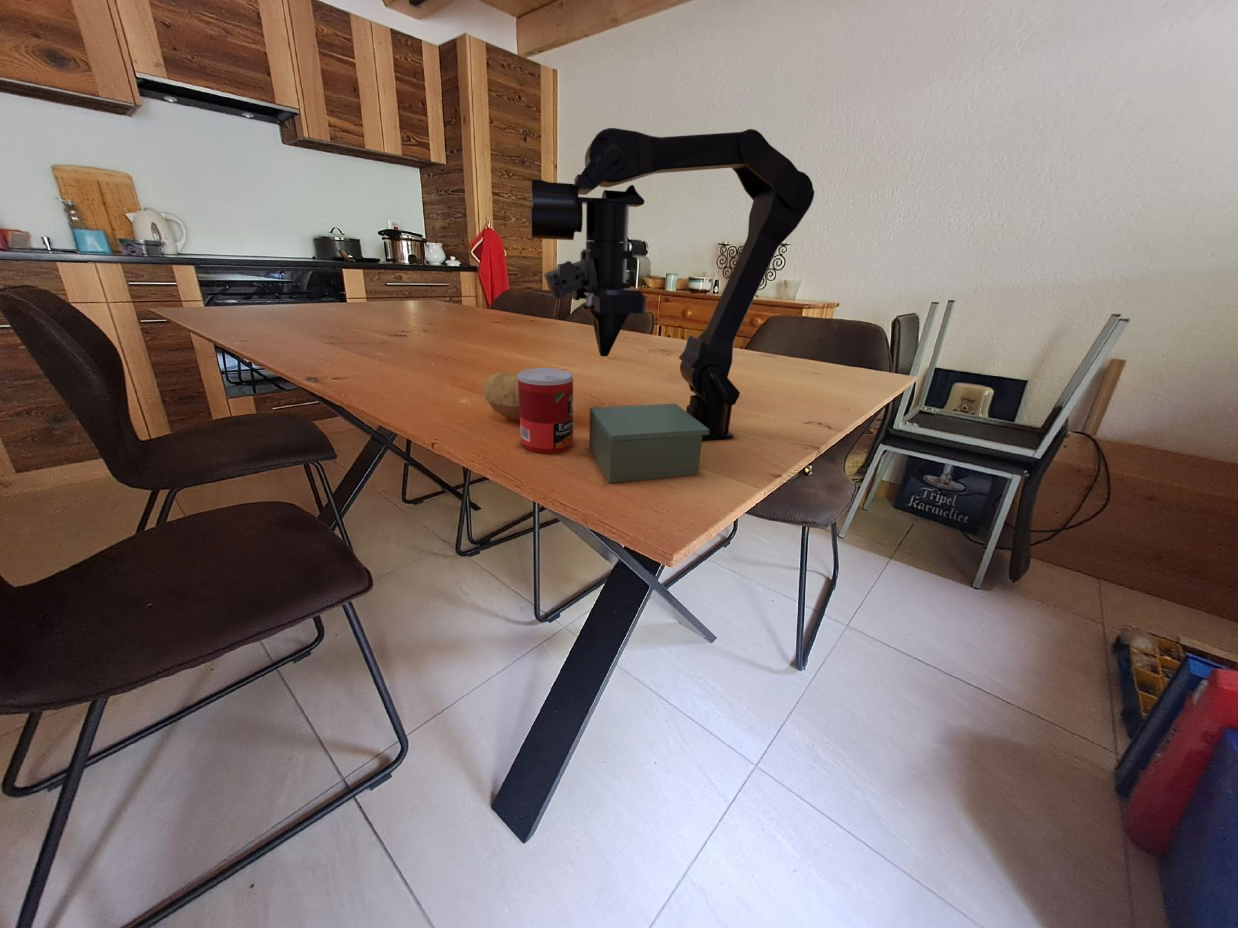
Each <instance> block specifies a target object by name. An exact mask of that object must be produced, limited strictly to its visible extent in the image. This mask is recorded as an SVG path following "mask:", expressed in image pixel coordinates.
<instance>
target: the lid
mask: <svg viewBox="0 0 1238 928" xmlns="http://www.w3.org/2000/svg"><path fill="white" fill-rule="evenodd" d="M590 414H591V415H592V416H593V418H594V419H595V420H596V422H597V423H598V424H599V426H600V427H601V428H602V430H603V431H604V432H605V434H606V435H607V437H608V438H609V439H610V441H626V440H640V439H655V438H669V437H684V436H699V435H709V429H708V428H707V427H706V426H704V425H703V424H702V423H700V422H699V421H698V420H696V419H695V418H694V417H692V416H691V415H690V414H688V413H687V412H686V410H685V409H683V408H682V407H681V406H679V405H678V404H677V403H660V404H637V405H636V404H635V405H618V406H617V405H616V406H598V407H597V406H595V407H589V415H590Z"/></svg>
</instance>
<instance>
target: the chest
mask: <svg viewBox="0 0 1238 928" xmlns="http://www.w3.org/2000/svg"><path fill="white" fill-rule="evenodd" d="M588 433H589V434H588V435H589V437H588V439H589V440H588V441H589V443H588V444H589V445H588V450H589V452H590V454H591V456H592V457H593V459H594V460H595V462H596V464H597V465H598V466H599V467H598V468H600V471H602V474H603V475H604V477H605V478H606V480H607V482H608V484H617V483H626V482H627V483H628V482H636V481H637V482H639V481H645V480H646V481H649V480H656V479H657V480H659V479H668V478H678V477H679V478H680V477H691V476H698V475H699V468H700V459H701V451H702V441H703V440H702V435H699V436H684V437H669V438H655V439H640V440H626V441H610V439H609V438H608V437H607V435H606V434H605V432H604V431H603V430H602V428H601V427H600V426H599V424H598V423H597V422H596V420H595V419H594V418H593V416H592V415H591V414H590V413H589V432H588Z"/></svg>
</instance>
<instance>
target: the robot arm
mask: <svg viewBox="0 0 1238 928" xmlns="http://www.w3.org/2000/svg"><path fill="white" fill-rule="evenodd" d="M730 168H731V169H732V170H733V172H734V173H735V174H736V176H737V178H738V180H739V182H740V184H741V186H742V188H743V190H744V191H745V193H746V194H747V195H748V196H749V197H750V198H751V200H752V203H751V204H752V205H751V207H750V211H749V215H748V227H747V229H748V230H747V237H746V240H745V242H744V245H743V246H742V249H741V251H740V253H739V255H738V257H737V260H736V262H735V264H734V267H733V269H732V271H731V273H730V276H729V278H728V280H727V282H726V285H725V286H724V288H723V291H722V293H721V295H720V298H719V300H718V302H717V305H716V307H715V309H714V310H713V313H712V315H711V318H710V320H709V322H708V325H707V327H706V328H705V329H704V331H703V332H701V334H699V336H698V337H695V336H693V335H692V334H691V335H689V336H688V338H687V341H686V345H685V348H684V350H683V352H682V353H681V354H680V355H679V356H678V359H679V360H680V365H679V372H680V374H681V378H682V379H683V380H684V381H685V382H686V383H687V384H688V386H689V390H690V392H691V393H694V395H693V394H692V395H690V397H689V398H690V399H689V404H687V405H686V410H685V411H686V412H687V413H688V414H690V415H691V416H692V417H694V418H695V419H696V420H698V421H699V422H700V423H702V424H703V425H704V426H706V427H707V428H708V429H709V435H702V441H708V440H719V439H721V440H722V439H731V438H734V434H733V433H732V432H730V424H731V416H732V409H733V406H734V405H736V403H737V401H738V399H739V397H740V394H741V392H740V391H739V389H738V388H737V387H736V386H735V384H734V383H733V382H732V381H731V380H730V379H729V378H728V377H729V374H730V371H731V367H732V364H733V358H734V357H733V356H734V344H735V339H736V337H737V335H738V333H739V330H740V329H741V327H742V324H743V322H744V320H745V318H746V316H747V314H748V312H749V310H750V307H751V305H752V303H753V301H754V299H755V297H756V295H757V292H758V290H759V289H760V286H761V284H762V282H763V280H764V278H765V276H766V273H767V271H768V269H769V267H770V265H771V263H772V261H773V259H774V257H775V255H776V253H777V250H778V249H779V247H780V245H781V244H782V243H784V241H786V240H787V238H788V237H790V235H791V234H792V233H793V232H794V231H795V230H796V229H797V227H798V226H799V224H800V223H801V221H802V220H803V218H805V215H806V214H807V213H808V211H809V210H810V208H811V206H812V204H813V201H814V198H815V194H816V193H815V190H814V187H813V182H812V180H811V178H810V176H809V175H807V174H806V173H805V172H803V171H800V170H798V168H797V167H796V166H795V164H794V163H793V162H792V161H791V160H790V159H789V158H788V157H787V156H785V154H782V153H781V152H780V151H779V150H777V149H776V148H775V147H774V146H772V144H770V143H769V142H768V140H767V139H766V138H765V137H764V135H763V134H762V133H761V132H759V131H758V130H756V129H753V128H748V129H745V130H743V131H735V132H734V131H733V132H721V133H720V132H719V133H702V134H688V135H675V136H672V135H671V136H654V135H649V134H646V133H643V132H640V131H636V130H629V129H624V128H616V127H607V128H604V129H602V130H601V131H599V132H598V133H597V134H596V135H595V137H594V138H593V140H591V143H590V144H589V146H588V147H587V148H586V151H585V155H584V168H583V170H582V172H581V173H580V174H578V173H577V175H576V176H575V177H574V180H573V182H574V183H568V182H567V183H566V182H553V181H552V182H550V181H546V180H544V179H532V180H531V207H530V227H531V229H530V233H531V239H539V240H557V241H558V240H559V241H560V240H561V241H574V239H575V233H582V231H583V219H584V218H583V217H584V216H583V215H584V214H583V211H584V209H583V205H586V207H585V208H586V210H585V214H586V215H585V219H586V220H585V221H586V223H585V248H582V250H581V251H580V260H577V261H575V262H573V263H572V261H570V260H566V261H565V262H563V263H558V264H557V267H556V268H555V269H553V270H550V271H548V272H545V273H544V274H543V277H544V278H545V281H546V284H547V287H548V288H549V292H550V296H551V297H552V298H554V299H557V300H558V299H560V298H564V297H567V295H568V294H570V293H571V299H572V300H574V301H580V300H584V299H585V304H580V305H579V306H580V308H581V309H582V310H583V311H584V312H585V313H586V314H587V315H588V316H589V317H590V318H591V321H592V327H593V331H594V335H595V340H596V344H597V348H598V353H599V356H601V357H609V355H610V353H611V350H612V348H613V346H614V344H615V342H616V340H617V338H618V336H619V334H620V332H621V330H622V328H623V327H624V324H625V323H626V321H627V319H628V317H629V315H631V314H645V313H646V308H647V307H646V306H647V305H646V304H647V297H646V296H645V295H644V294H643V292H642V291H641V290H639V289H637V288H632V287H631V283H630V282H627V265H628V264H627V263H628V260H632V251H631V250H628V237H629V217H630V216H629V215H630V213H629V212H630V208H631V207H632V208H638V207H641V206H643V205H644V204H645V199H644V198H643V197H642V196H641V195H640V194H639V193H638V191H637V189H636V188H635V187H636V186H634V184H631V185H629V186H627V188H626V189H625V190H623V191H622V190H611V189H610V190H608V189H604V190H603V191H602V194H601V197H587V195H588V194H589V193H591V192H592V191H593V190H595V189H596V188H598V187H600V188H613V187H615V186H619V185H622V184H625V183H628V182H632V181H635V180H638V179H641V178H645V177H647V176H651V175H654V174H655V175H656V174H666V173H678V172H679V173H680V172H693V171H705V170H717V169H719V170H720V169H730ZM579 195H582V196H579ZM583 196H585V197H583Z"/></svg>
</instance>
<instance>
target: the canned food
mask: <svg viewBox="0 0 1238 928" xmlns="http://www.w3.org/2000/svg"><path fill="white" fill-rule="evenodd" d="M517 374H518V393H519V411H520V422H519V427H520V428H519V429H520V442H521V445H522V446H523V448H525V449H526V450H527V451H530V452H533V453H537V454H544V455H545V454H549V455H550V454H558V453H562V452H566V451H567V450H568V449H570V448H571V446H572V445H573V440H574V378H573V374H572V372H570V371H567V370H564V369H559V368H554V367H553V368H551V367H537V368H536V367H535V368H527V369H523V370H521V371H519V372H518V373H517Z"/></svg>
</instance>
